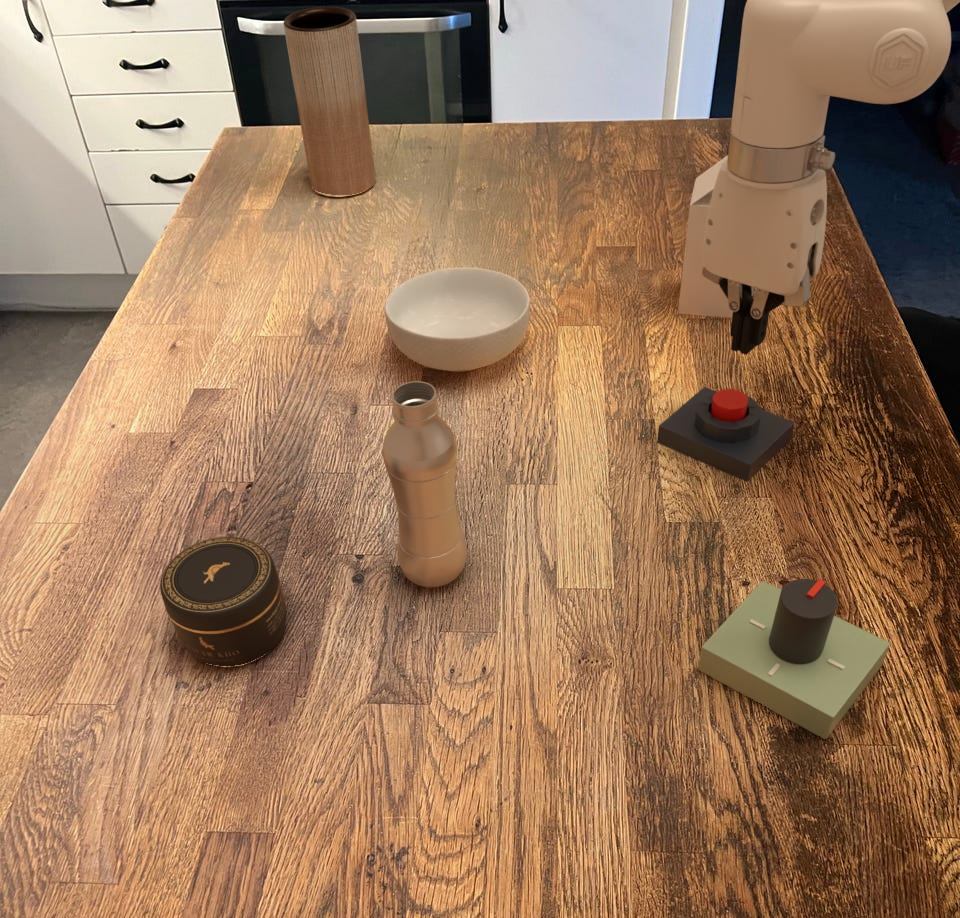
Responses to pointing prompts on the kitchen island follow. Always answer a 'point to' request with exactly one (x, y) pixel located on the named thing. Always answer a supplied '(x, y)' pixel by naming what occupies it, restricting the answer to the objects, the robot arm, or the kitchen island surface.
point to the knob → (802, 620)
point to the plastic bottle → (424, 487)
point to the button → (729, 405)
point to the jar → (225, 600)
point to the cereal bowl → (458, 317)
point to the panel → (792, 665)
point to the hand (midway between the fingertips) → (746, 345)
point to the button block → (725, 436)
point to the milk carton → (700, 255)
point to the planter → (331, 99)
